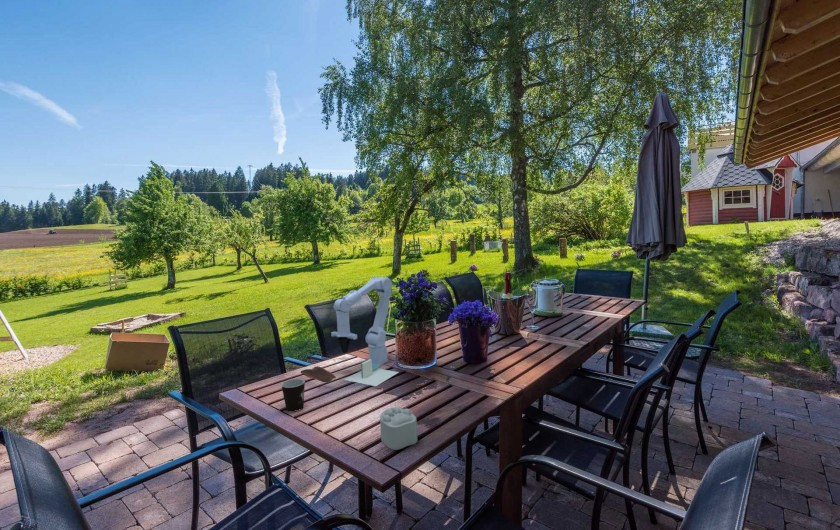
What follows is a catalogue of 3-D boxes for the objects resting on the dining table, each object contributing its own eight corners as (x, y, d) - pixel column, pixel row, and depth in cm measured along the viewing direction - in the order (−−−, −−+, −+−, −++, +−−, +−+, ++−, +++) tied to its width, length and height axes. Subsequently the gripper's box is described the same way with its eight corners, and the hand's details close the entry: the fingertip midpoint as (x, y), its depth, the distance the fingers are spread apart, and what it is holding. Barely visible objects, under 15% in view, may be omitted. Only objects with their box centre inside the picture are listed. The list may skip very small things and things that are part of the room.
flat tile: (369, 367, 191) (369, 363, 191) (380, 369, 188) (380, 365, 187) (361, 371, 186) (361, 367, 186) (373, 373, 182) (373, 369, 182)
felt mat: (368, 367, 191) (368, 366, 191) (398, 373, 182) (398, 372, 182) (344, 380, 176) (344, 379, 176) (375, 387, 167) (375, 386, 167)
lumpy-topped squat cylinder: (392, 452, 117) (390, 424, 116) (374, 433, 128) (373, 408, 128) (421, 441, 122) (420, 415, 122) (402, 424, 134) (401, 400, 133)
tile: (369, 373, 182) (368, 359, 182) (372, 374, 181) (371, 359, 181) (361, 377, 177) (360, 363, 176) (364, 378, 176) (363, 363, 176)
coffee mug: (293, 415, 144) (291, 389, 143) (278, 410, 149) (276, 385, 148) (317, 402, 154) (315, 378, 153) (302, 398, 159) (300, 374, 158)
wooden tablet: (344, 378, 176) (324, 382, 170) (344, 383, 176) (324, 387, 170) (318, 365, 196) (299, 368, 190) (318, 369, 196) (299, 372, 190)
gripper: (326, 325, 183) (327, 353, 184) (349, 327, 175) (351, 356, 177) (336, 321, 189) (338, 348, 190) (359, 324, 181) (361, 352, 183)
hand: (345, 352), depth 184 cm, fingers closed
